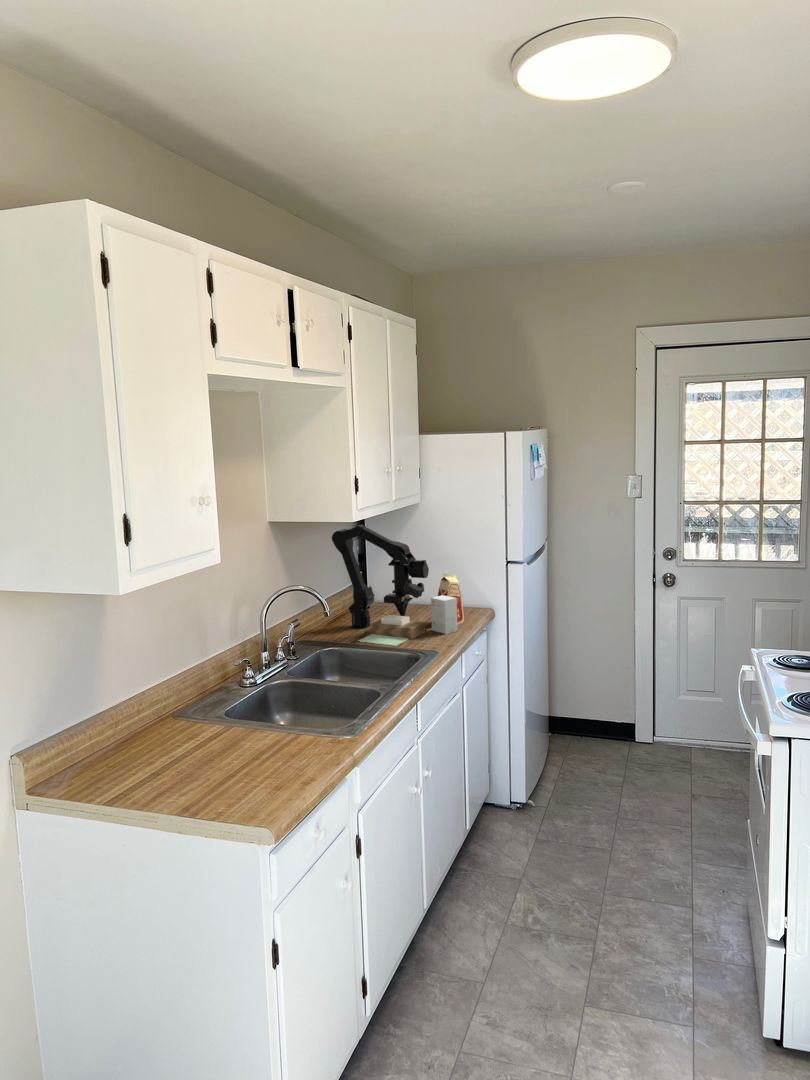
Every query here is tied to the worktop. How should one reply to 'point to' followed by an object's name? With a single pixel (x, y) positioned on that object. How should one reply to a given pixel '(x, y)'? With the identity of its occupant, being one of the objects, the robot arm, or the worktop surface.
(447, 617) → the small box
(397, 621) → the cream white eraser block
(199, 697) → the worktop surface
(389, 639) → the mat
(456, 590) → the milk carton
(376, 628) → the brown wooden block
